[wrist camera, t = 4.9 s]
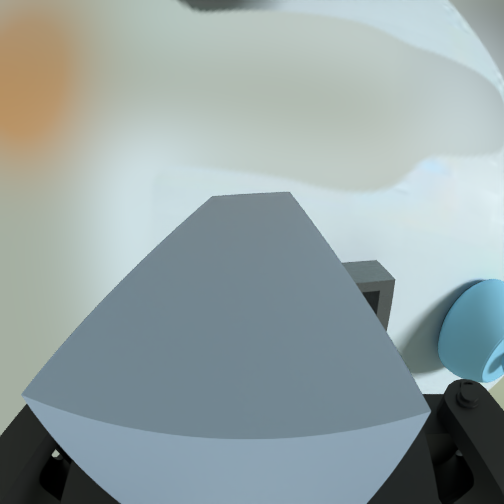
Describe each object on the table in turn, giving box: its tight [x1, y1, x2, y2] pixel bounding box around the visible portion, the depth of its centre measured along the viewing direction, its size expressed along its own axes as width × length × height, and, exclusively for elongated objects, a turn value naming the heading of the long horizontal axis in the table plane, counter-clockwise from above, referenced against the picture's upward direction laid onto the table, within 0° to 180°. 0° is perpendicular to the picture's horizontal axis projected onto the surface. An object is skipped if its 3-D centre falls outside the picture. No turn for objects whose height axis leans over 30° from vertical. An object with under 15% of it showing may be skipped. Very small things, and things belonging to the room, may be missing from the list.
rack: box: [342, 260, 395, 332], centre depth 28 cm, size 23×8×11 cm, turn 4°
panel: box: [21, 192, 431, 504], centre depth 7 cm, size 8×3×10 cm, turn 4°
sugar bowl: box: [438, 279, 504, 383], centre depth 26 cm, size 15×15×12 cm
